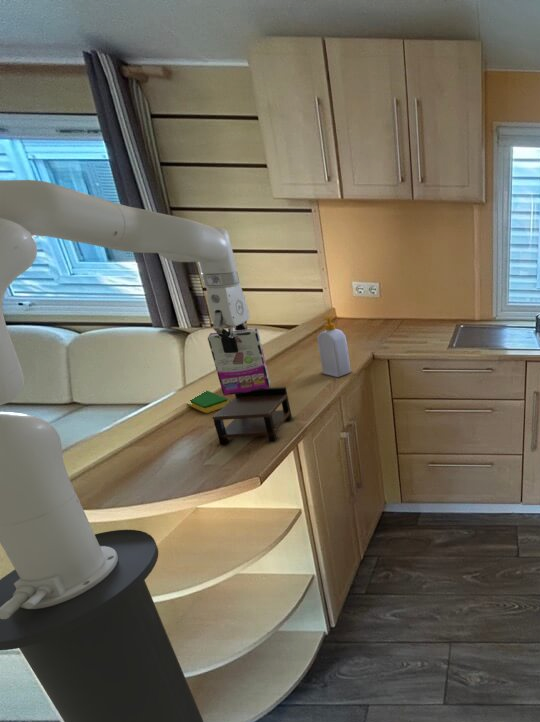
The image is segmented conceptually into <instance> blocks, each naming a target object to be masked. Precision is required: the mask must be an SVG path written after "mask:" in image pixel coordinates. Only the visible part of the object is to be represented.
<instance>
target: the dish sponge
mask: <svg viewBox="0 0 540 722" xmlns="http://www.w3.org/2000/svg"><path fill="white" fill-rule="evenodd" d="M205 391H206V392H204V391H203V392H204V393H202V394H201V395H199V396H197V397H195V398H194V399H192V400H190V401H191V403H192V405H191V404H188V405H187V406H189V407H191V408H193V409H195V410H198V411H200V412H202V413H205V414H209V413H212V412H214V411H217V410H221V409H222V408H224V407H225V406H226V405H227V404H228V403H229V402H230V401H229V399H228V398H226V397H225V396H223V395H222V396H221V395H220V394H217V393H214V392H212V391H210V390H205Z"/></svg>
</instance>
